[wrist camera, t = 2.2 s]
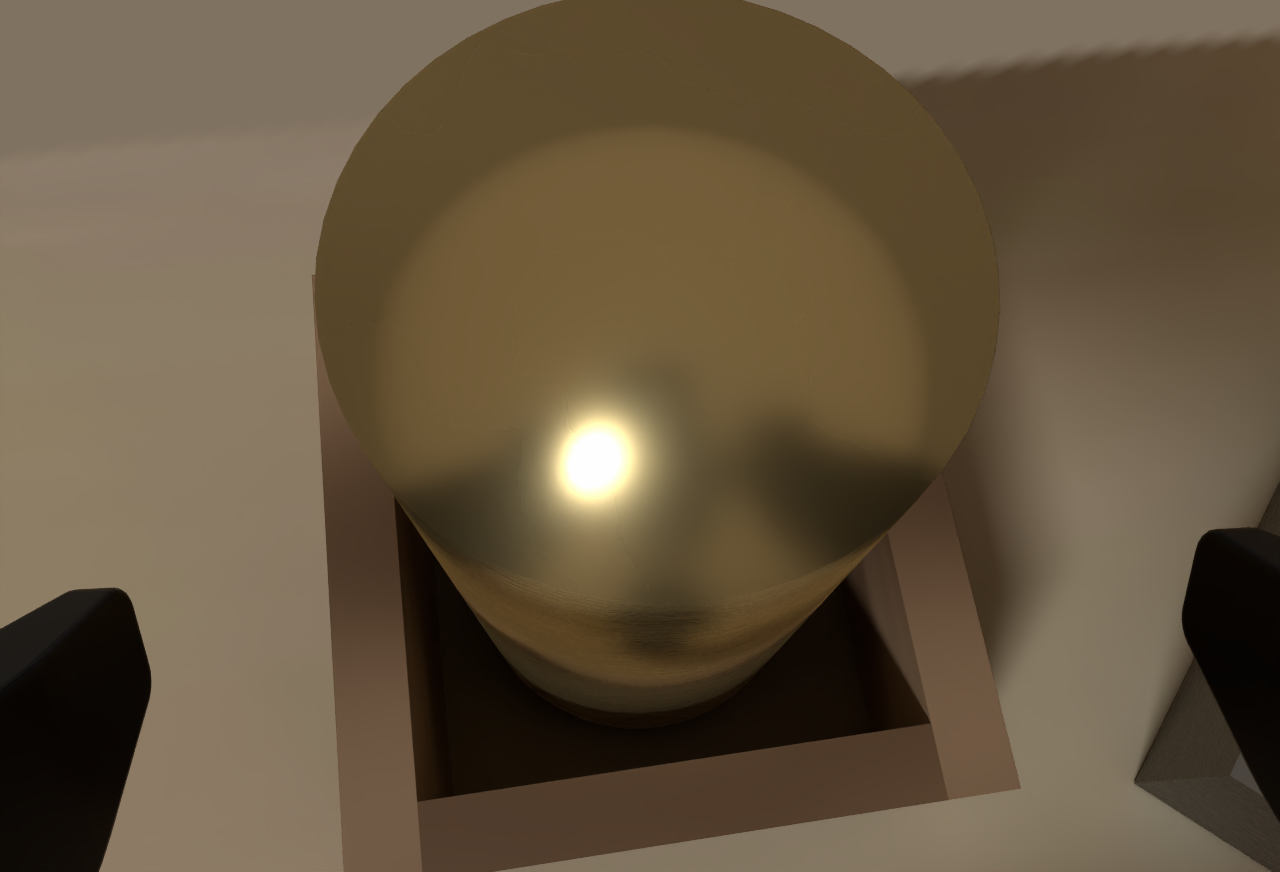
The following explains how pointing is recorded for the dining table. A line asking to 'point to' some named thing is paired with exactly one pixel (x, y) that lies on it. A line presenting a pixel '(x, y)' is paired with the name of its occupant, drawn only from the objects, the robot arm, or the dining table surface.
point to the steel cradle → (1212, 764)
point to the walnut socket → (656, 795)
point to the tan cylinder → (654, 333)
